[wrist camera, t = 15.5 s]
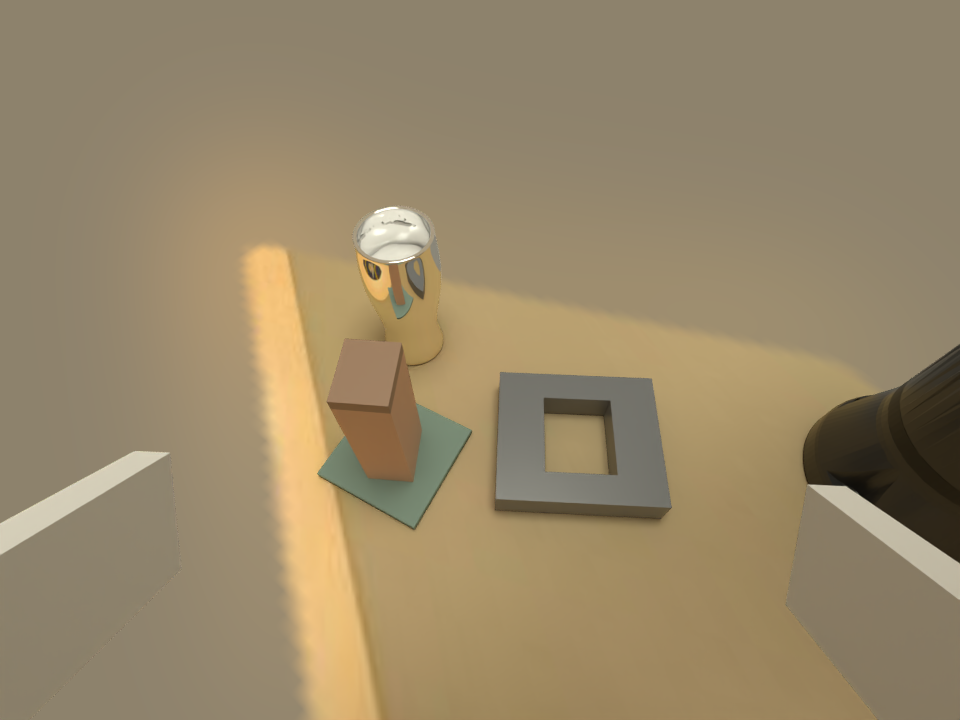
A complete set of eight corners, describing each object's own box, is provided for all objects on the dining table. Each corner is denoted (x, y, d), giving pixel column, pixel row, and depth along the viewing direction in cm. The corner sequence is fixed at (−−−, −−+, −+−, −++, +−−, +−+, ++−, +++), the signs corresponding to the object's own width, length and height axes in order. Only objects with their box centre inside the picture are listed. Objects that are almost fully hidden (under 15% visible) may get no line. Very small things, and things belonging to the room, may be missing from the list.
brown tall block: (422, 429, 47) (401, 342, 35) (413, 482, 44) (388, 406, 32) (379, 426, 47) (344, 338, 35) (367, 478, 44) (326, 401, 33)
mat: (471, 432, 47) (471, 430, 47) (414, 529, 43) (413, 527, 42) (382, 389, 50) (381, 386, 49) (318, 475, 45) (317, 473, 45)
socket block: (643, 394, 49) (651, 378, 47) (660, 518, 43) (671, 507, 40) (499, 388, 50) (500, 372, 47) (494, 510, 43) (495, 499, 41)
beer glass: (421, 304, 56) (404, 192, 43) (461, 344, 53) (455, 236, 40) (368, 337, 53) (333, 229, 41) (406, 381, 50) (381, 279, 38)
